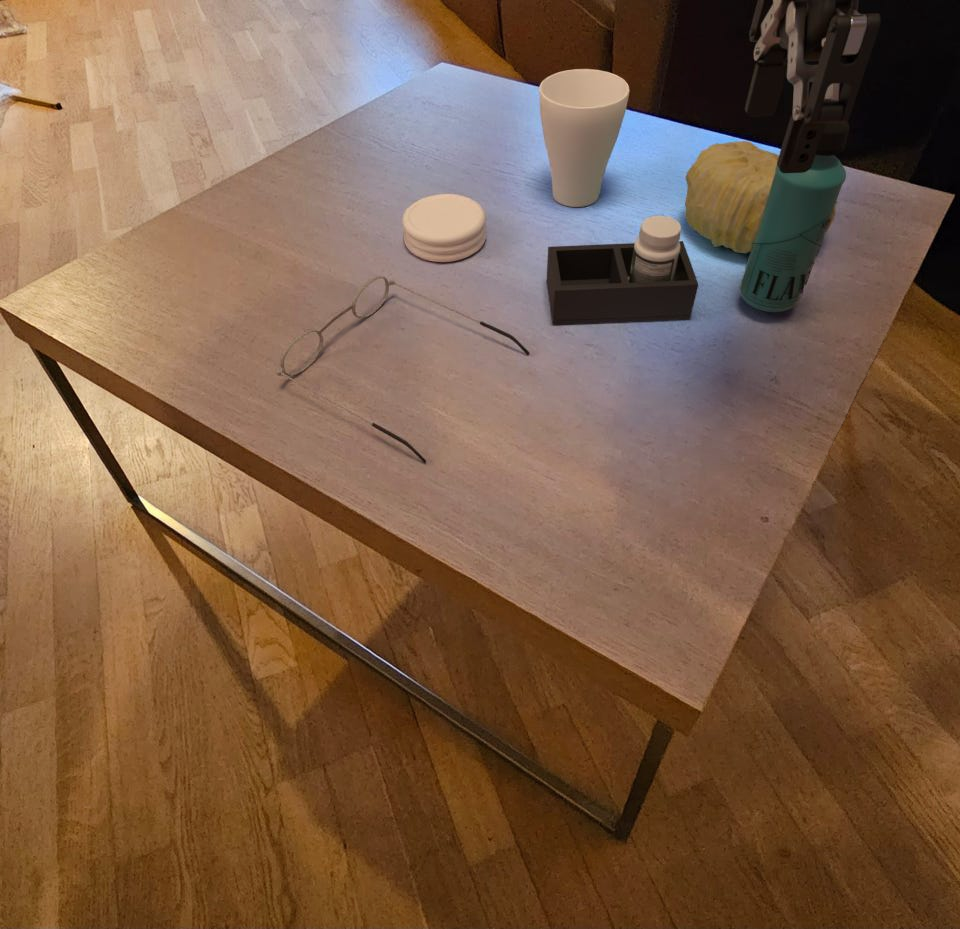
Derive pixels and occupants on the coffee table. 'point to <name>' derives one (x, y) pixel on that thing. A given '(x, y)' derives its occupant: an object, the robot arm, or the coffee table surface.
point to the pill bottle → (656, 250)
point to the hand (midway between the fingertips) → (774, 141)
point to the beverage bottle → (794, 226)
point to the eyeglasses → (352, 306)
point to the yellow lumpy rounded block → (730, 193)
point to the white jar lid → (444, 227)
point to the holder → (613, 287)
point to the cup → (581, 130)
